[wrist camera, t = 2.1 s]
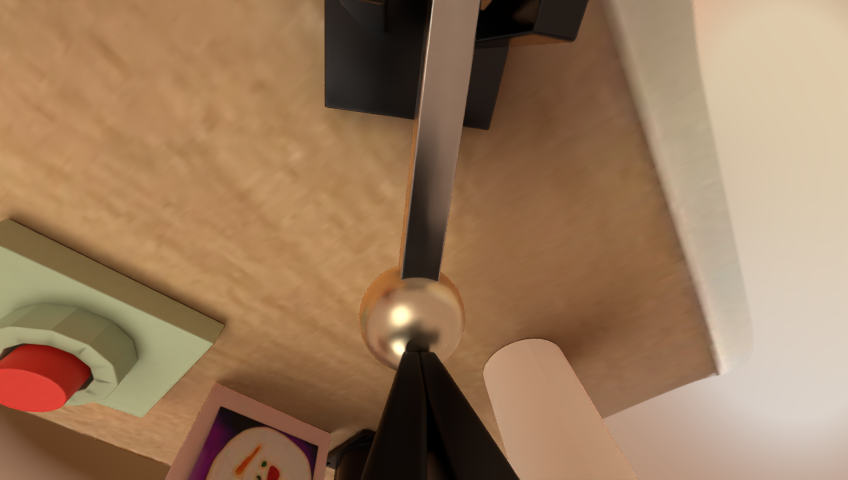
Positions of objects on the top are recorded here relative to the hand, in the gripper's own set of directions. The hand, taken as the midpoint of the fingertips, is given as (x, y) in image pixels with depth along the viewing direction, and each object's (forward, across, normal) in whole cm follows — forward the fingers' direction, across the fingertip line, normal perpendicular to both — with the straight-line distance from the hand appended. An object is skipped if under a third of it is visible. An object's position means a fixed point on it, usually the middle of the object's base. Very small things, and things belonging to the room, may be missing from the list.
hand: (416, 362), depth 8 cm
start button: (+9, +19, +11) cm, 23 cm away
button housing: (+12, +19, +11) cm, 25 cm away
